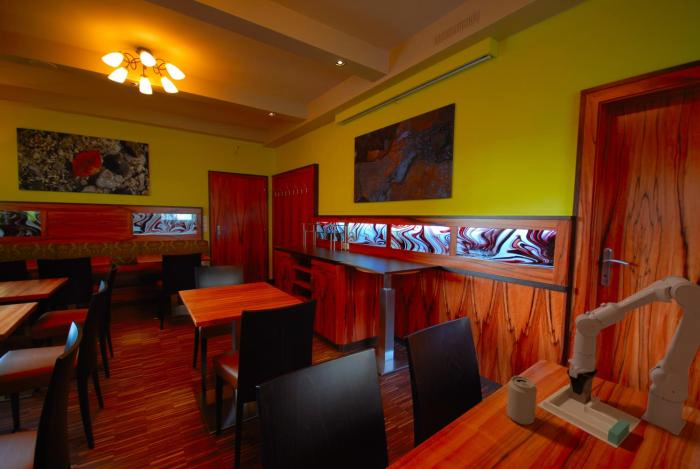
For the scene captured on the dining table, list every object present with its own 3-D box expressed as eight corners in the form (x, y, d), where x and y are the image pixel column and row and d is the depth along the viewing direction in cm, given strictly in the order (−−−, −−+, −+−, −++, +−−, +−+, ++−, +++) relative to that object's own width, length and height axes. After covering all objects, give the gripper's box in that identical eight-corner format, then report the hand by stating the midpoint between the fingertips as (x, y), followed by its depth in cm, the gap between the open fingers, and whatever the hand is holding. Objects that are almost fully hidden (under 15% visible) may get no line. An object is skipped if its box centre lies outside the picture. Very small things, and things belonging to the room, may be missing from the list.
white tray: (565, 387, 111) (565, 377, 110) (641, 421, 94) (642, 410, 93) (536, 406, 100) (537, 396, 100) (616, 449, 83) (617, 437, 83)
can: (527, 410, 99) (530, 374, 97) (539, 427, 91) (542, 389, 90) (502, 408, 99) (505, 373, 98) (512, 425, 92) (515, 387, 90)
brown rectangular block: (575, 392, 107) (577, 370, 106) (590, 399, 103) (592, 377, 102) (568, 397, 104) (571, 374, 103) (584, 404, 100) (586, 381, 100)
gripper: (580, 341, 109) (576, 378, 110) (560, 352, 101) (556, 391, 103) (604, 349, 103) (600, 388, 105) (585, 362, 95) (581, 403, 97)
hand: (580, 390), depth 103 cm, fingers closed on brown rectangular block, 4 cm apart
